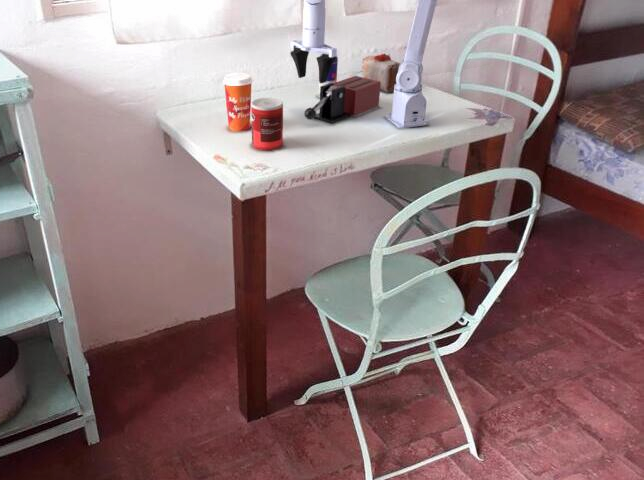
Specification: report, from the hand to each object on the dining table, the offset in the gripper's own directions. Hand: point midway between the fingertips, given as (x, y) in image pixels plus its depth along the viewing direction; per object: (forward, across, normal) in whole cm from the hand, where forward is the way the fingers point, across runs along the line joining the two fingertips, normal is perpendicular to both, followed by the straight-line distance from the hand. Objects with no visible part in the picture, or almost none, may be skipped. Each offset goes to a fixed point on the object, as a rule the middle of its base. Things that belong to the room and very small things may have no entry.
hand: (312, 79), depth 180 cm
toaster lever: (+6, +6, -2) cm, 9 cm away
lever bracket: (+10, +6, +2) cm, 12 cm away
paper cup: (+10, -7, -21) cm, 24 cm away
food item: (+10, -1, +34) cm, 35 cm away
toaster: (+10, +6, +12) cm, 16 cm away
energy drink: (+10, -7, +15) cm, 20 cm away
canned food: (+10, +7, -24) cm, 27 cm away
